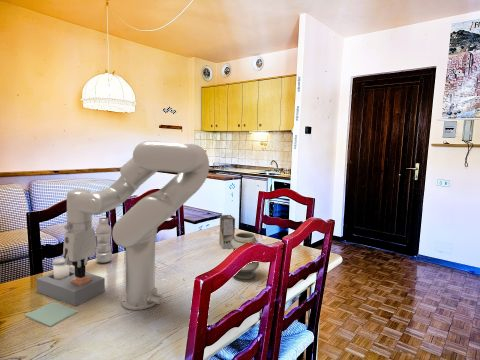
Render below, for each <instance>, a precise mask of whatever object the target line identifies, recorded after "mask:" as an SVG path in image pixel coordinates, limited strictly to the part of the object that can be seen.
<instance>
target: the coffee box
mask: <svg viewBox="0 0 480 360" xmlns="http://www.w3.org/2000/svg"><path fill="white" fill-rule="evenodd" d="M235 227H236V218H235V217H234V216H233V215H232V214H221V215H220V216H219V239H218V240H219V241H218V242H219V245H220V247H221V248H222V249H223V250H226V249H233V248H232V247H231V241H232V240H233V239H234V238H235V234H236V233H235V232H236V230H235V229H236V228H235Z"/></svg>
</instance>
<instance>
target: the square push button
mask: <svg viewBox="0 0 480 360" xmlns="http://www.w3.org/2000/svg"><path fill="white" fill-rule="evenodd" d="M90 281H91V277H88V276H87V275H85V277H82V278H79V277H75V278H74V279H72V284H75V285H78V286H81V285H84V284H86V283H88V282H90Z"/></svg>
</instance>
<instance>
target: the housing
mask: <svg viewBox="0 0 480 360" xmlns="http://www.w3.org/2000/svg"><path fill="white" fill-rule="evenodd" d="M85 275H87V276H88V277H91V281H90V282H88V283H86V284H84V285H81V286H78V285H75V284H72V279H74V278H75V277H76V276H75V267H74V268H73V267H70V266H69V277H67V278H64V279H62V280H56V279H54V272H49V273H46V274H44V275H42V276H38V277H37V278H35V280H36V282H35V283H36V292H37V293H39V294H42V295H45V296H47V297H50V298H52V299H55V300H57V301H60V302H63V303H66V304H68V305H70V306H74V307H77V306H79V305H80V304H82V303H84V302H86V301H88V300H90V299H92V298H94V297H96V296H98V295H100V294H102V293H104V292H105V291H106V290H105V288H106V285H105V284H106V281H105V280H106V278H105V277H103V276H100V275H96V274H93V273H89V272H86V271H85Z"/></svg>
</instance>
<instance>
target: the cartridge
mask: <svg viewBox="0 0 480 360" xmlns="http://www.w3.org/2000/svg"><path fill="white" fill-rule="evenodd" d="M64 263H65V259H64V256H59V257H56V258H54V259H53V260H52V269H53V270H52V271H53V272H54V279H56V280H62V279H64V278H67V277H69V267H70V265H65V264H64Z"/></svg>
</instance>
